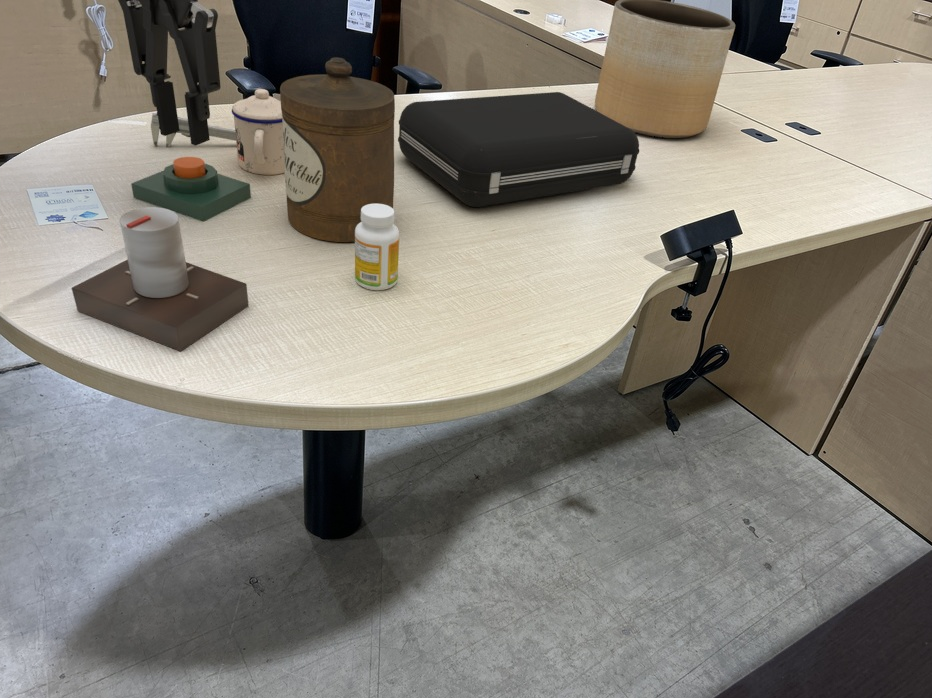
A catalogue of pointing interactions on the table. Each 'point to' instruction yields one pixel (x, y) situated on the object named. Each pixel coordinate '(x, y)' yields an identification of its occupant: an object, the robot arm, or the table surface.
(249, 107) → the teacup with lid
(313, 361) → the table surface
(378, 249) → the supplement bottle
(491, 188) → the briefcase
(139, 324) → the brown rectangular base
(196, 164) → the button
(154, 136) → the caliper
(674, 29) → the planter
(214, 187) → the button block
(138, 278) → the dial
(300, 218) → the wooden container
